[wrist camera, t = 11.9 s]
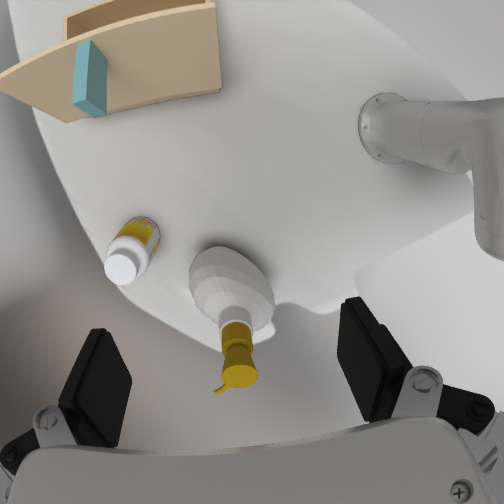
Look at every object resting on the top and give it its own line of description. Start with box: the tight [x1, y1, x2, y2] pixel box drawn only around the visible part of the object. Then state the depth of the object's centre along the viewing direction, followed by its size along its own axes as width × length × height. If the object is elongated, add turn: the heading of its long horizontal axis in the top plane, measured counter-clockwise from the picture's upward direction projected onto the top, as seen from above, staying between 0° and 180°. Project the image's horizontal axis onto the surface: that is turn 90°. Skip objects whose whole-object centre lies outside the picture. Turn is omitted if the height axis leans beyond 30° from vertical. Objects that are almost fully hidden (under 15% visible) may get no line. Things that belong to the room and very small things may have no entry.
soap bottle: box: [189, 246, 275, 394], centre depth 41 cm, size 14×9×26 cm, turn 55°
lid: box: [0, 2, 222, 124], centre depth 24 cm, size 21×16×6 cm
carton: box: [63, 0, 220, 118], centre depth 32 cm, size 20×16×10 cm
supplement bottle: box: [104, 217, 160, 285], centre depth 43 cm, size 7×7×13 cm
